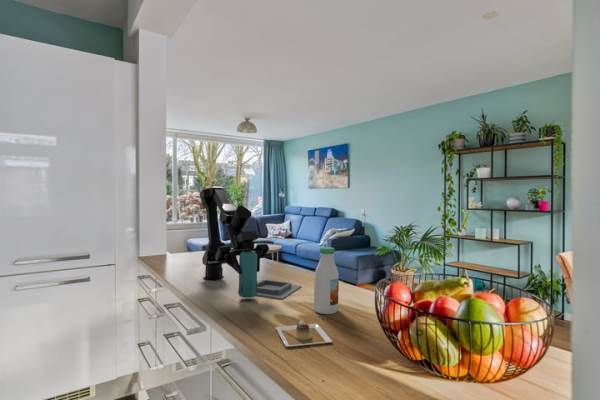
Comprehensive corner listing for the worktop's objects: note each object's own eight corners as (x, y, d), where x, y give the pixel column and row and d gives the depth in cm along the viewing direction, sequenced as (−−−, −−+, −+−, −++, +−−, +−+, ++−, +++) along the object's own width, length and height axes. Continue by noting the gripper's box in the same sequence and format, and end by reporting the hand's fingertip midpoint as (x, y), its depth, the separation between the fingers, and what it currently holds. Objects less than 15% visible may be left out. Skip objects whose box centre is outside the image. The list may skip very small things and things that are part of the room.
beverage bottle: (260, 298, 116) (261, 241, 116) (250, 303, 110) (251, 243, 110) (245, 295, 119) (246, 239, 119) (233, 300, 113) (235, 242, 113)
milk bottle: (321, 316, 100) (323, 250, 100) (309, 308, 107) (310, 246, 107) (342, 312, 103) (344, 248, 103) (329, 305, 110) (331, 245, 110)
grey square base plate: (237, 292, 122) (237, 287, 122) (261, 281, 138) (261, 276, 138) (282, 299, 115) (282, 293, 115) (301, 287, 132) (301, 281, 132)
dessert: (333, 346, 81) (333, 326, 81) (285, 351, 78) (286, 330, 78) (317, 327, 93) (317, 310, 93) (275, 331, 90) (275, 313, 89)
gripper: (218, 223, 112) (230, 261, 103) (267, 221, 123) (282, 256, 114) (210, 243, 119) (221, 280, 110) (257, 240, 129) (270, 274, 120)
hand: (249, 272), depth 113 cm, fingers closed on beverage bottle, 6 cm apart
